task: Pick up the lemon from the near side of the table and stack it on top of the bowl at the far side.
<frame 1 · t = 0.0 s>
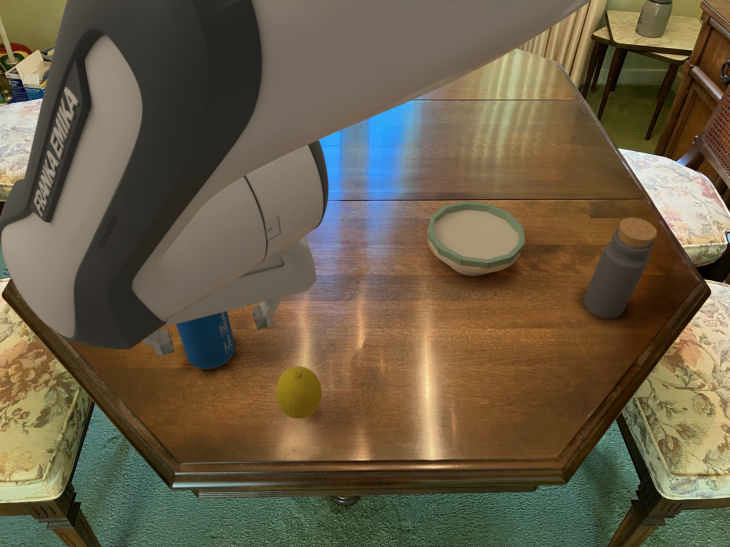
hand: (215, 336, 53), 19 cm above the table, tool pointing down, fingers open, 8 cm apart
bottle: (602, 305, 84), on the table
beverage can: (212, 354, 76), on the table
bowl: (470, 259, 90), on the table
lemon: (301, 411, 70), on the table
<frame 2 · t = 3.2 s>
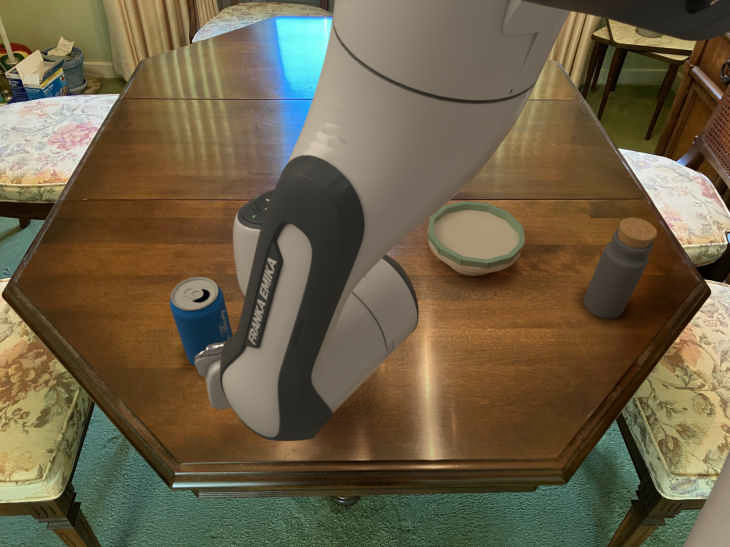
hand: (299, 398, 68), 3 cm above the table, tool pointing down, fingers closed on lemon, 5 cm apart
lemon: (301, 411, 70), on the table, touching gripper
everything else where it was.
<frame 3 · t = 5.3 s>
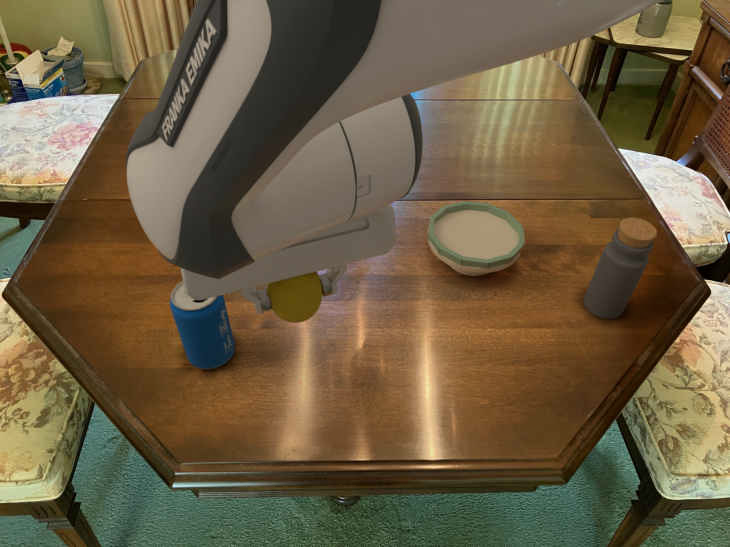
hand: (296, 299, 56), 20 cm above the table, tool pointing down, fingers closed on lemon, 5 cm apart
lemon: (297, 319, 58), point 17 cm above the table, touching gripper
everything else where it was.
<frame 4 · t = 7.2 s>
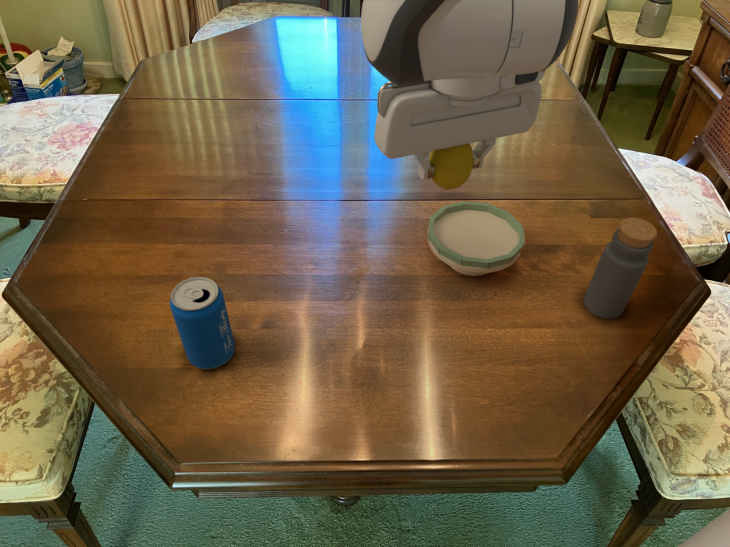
hand: (450, 171, 70), 22 cm above the table, tool pointing down, fingers closed on lemon, 5 cm apart
lemon: (446, 190, 72), point 19 cm above the table, touching gripper
everything else where it was.
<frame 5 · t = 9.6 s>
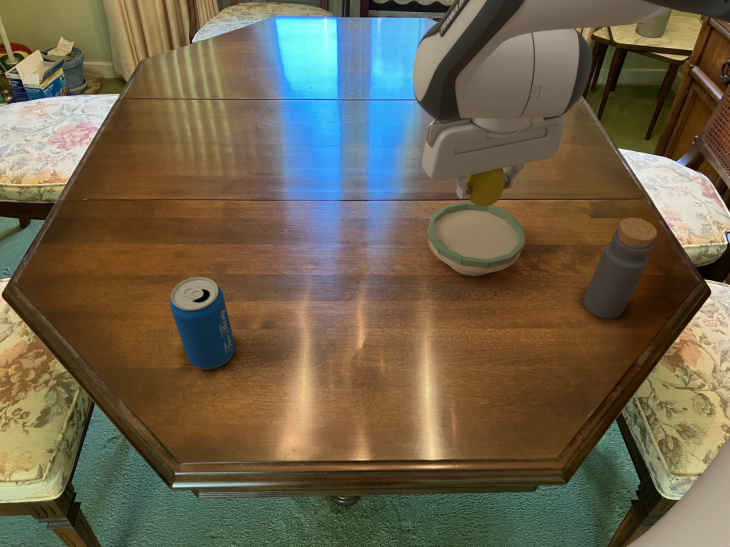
hand: (484, 191, 81), 14 cm above the table, tool pointing down, fingers closed on lemon, 5 cm apart
lemon: (480, 207, 83), point 11 cm above the table, touching gripper
everything else where it was.
when the fingers open (8 cm above the table, at t = 11.5 s): lemon stays where it is, resting on bowl.
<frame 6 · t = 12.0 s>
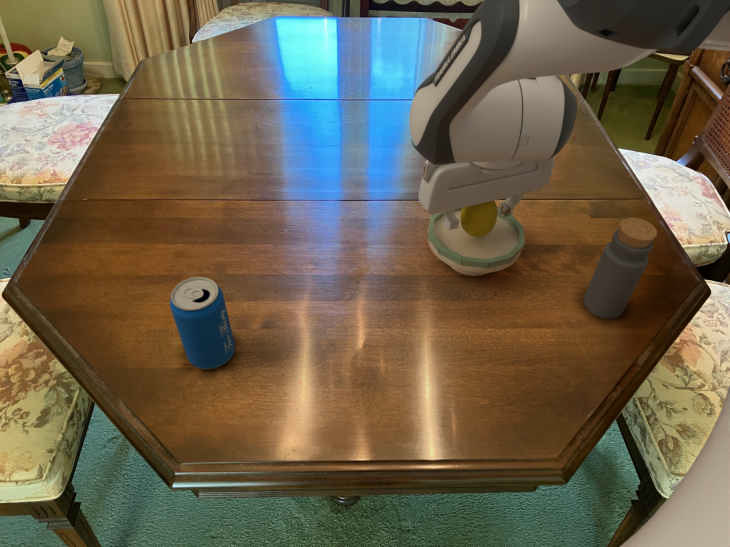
hand: (478, 220, 85), 8 cm above the table, tool pointing down, fingers open, 8 cm apart
lemon: (474, 236, 87), point 5 cm above the table, touching bowl
everything else where it was.
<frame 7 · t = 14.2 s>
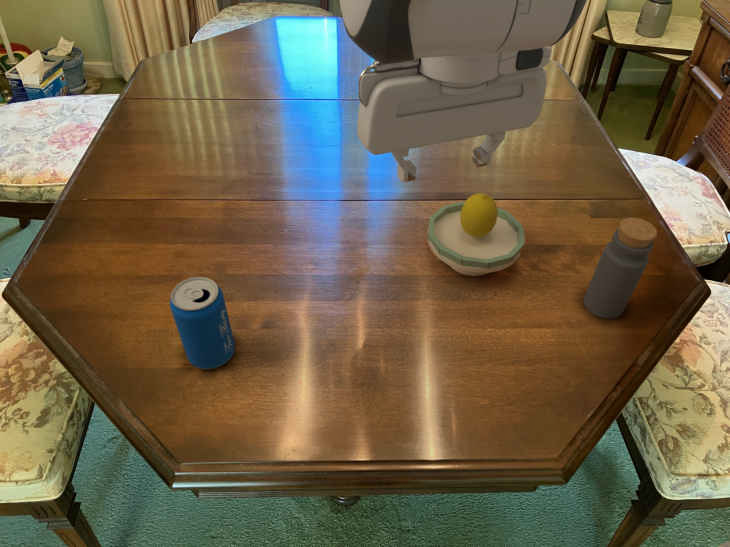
hand: (444, 171, 63), 26 cm above the table, tool pointing down, fingers open, 8 cm apart
nothing on the table moved.
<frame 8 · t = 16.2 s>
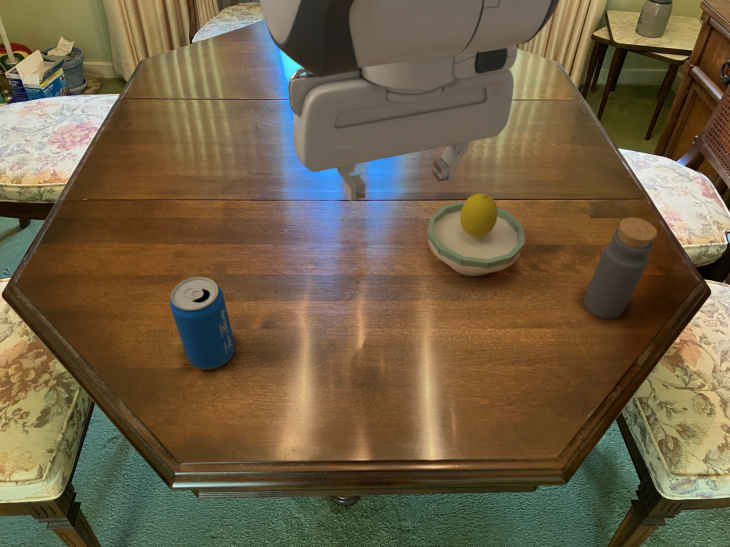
hand: (399, 186, 55), 29 cm above the table, tool pointing down, fingers open, 8 cm apart
nothing on the table moved.
at the end: lemon 0.1 cm from the bowl (horizontally); lemon point 4.8 cm above the table; the gripper is holding nothing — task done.
